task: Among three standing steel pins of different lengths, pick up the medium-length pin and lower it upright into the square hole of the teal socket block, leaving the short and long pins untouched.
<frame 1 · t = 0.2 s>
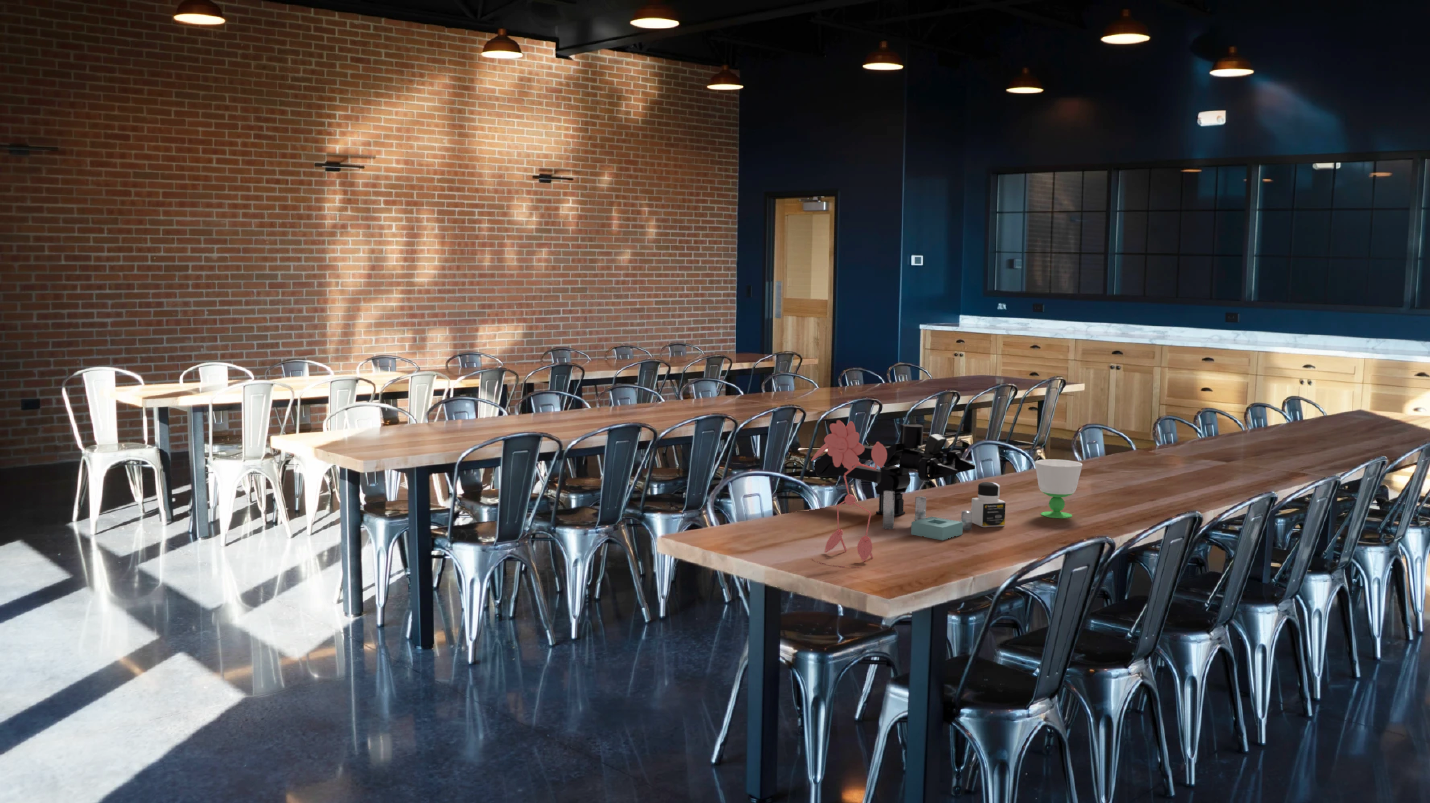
hand: (966, 469, 325), 16 cm above the table, tool horizontal, fingers open, 9 cm apart
pin short: (966, 528, 325), on the table
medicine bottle: (987, 524, 331), on the table
pin medium: (920, 525, 329), on the table
socket block: (936, 534, 317), on the table
cup: (1056, 515, 345), on the table
figurine: (840, 559, 289), on the table
pin long: (888, 528, 325), on the table
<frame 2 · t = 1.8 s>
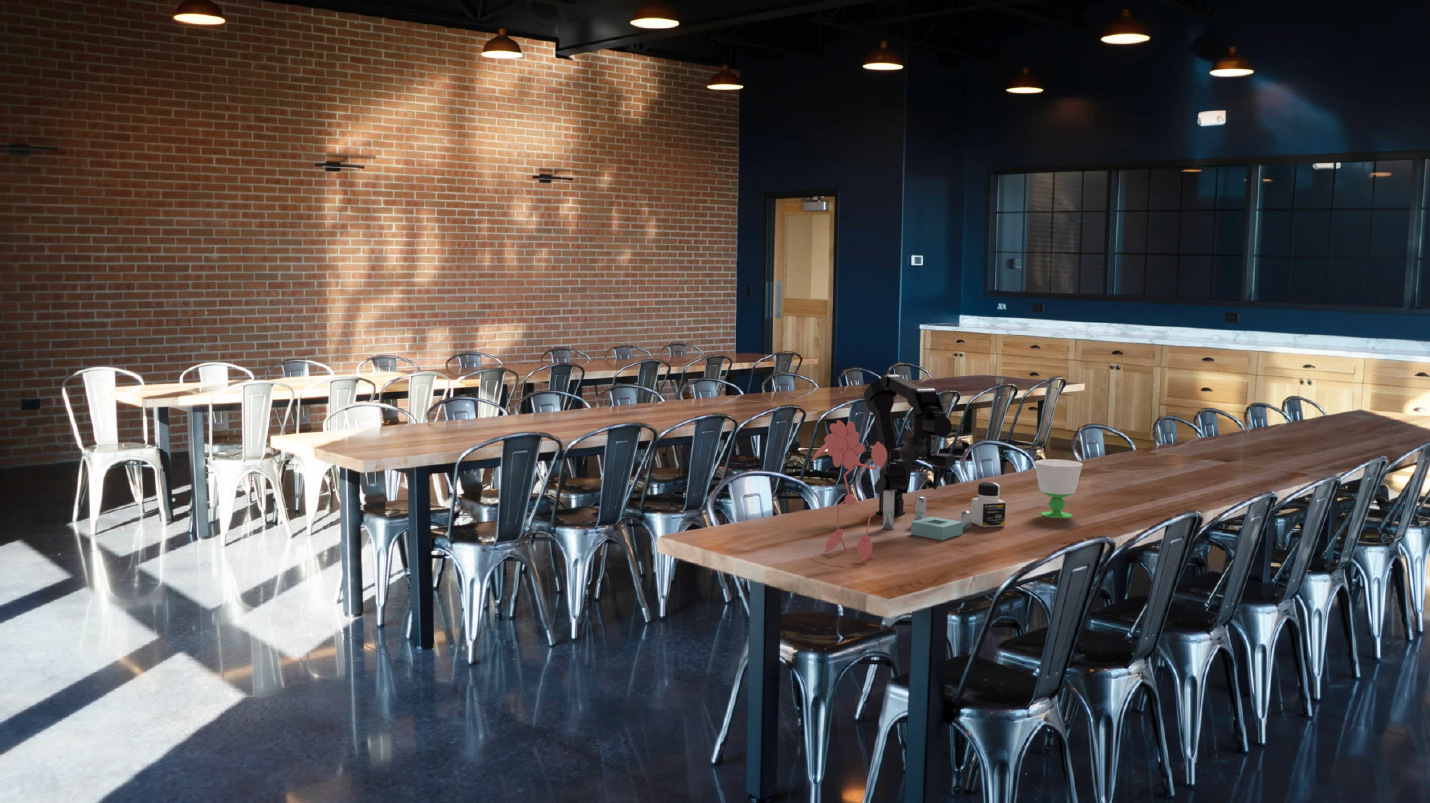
hand: (921, 486, 328), 11 cm above the table, tool pointing down, fingers open, 9 cm apart
nothing on the table moved.
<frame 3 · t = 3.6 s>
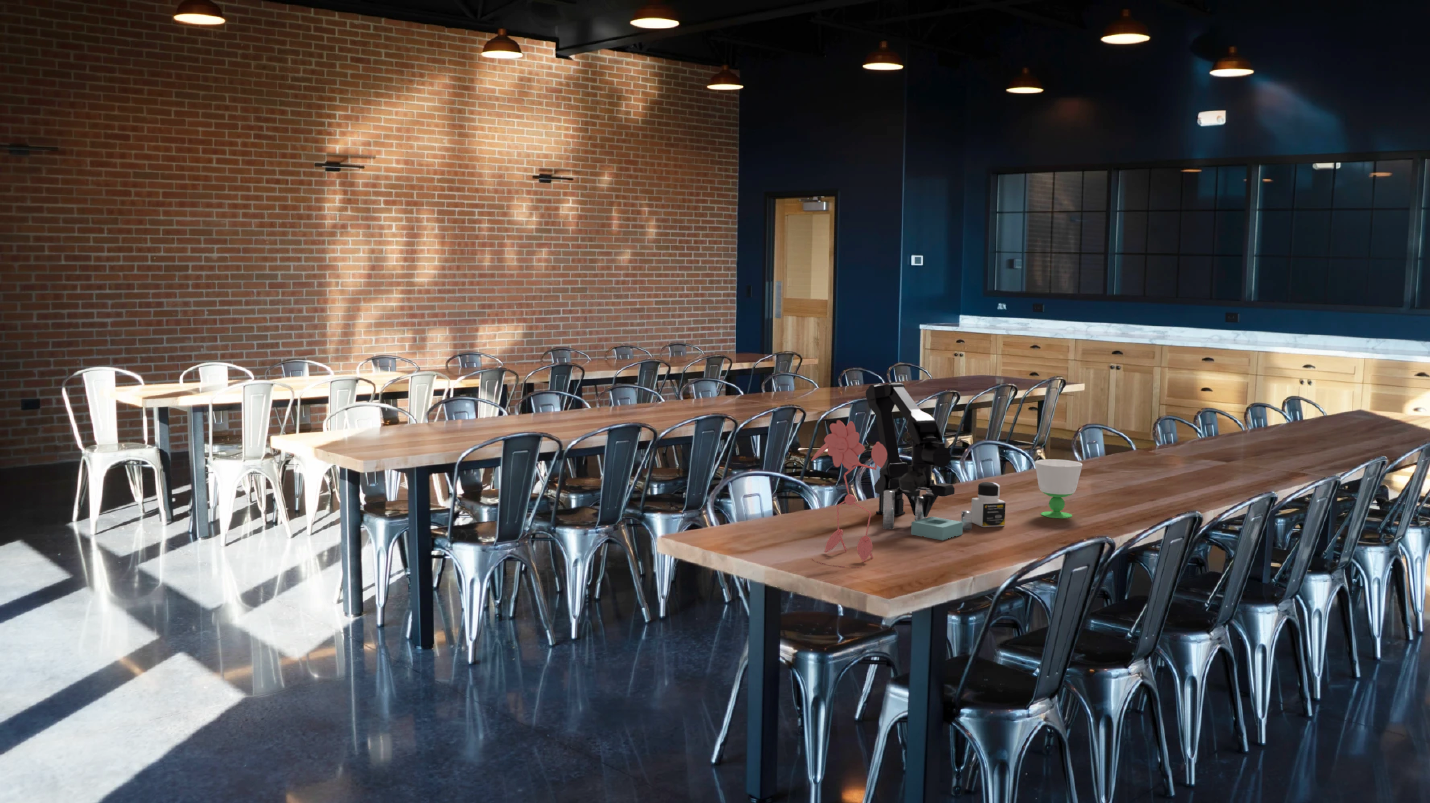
hand: (920, 516, 329), 3 cm above the table, tool pointing down, fingers closed on pin medium, 3 cm apart
pin medium: (920, 525, 329), on the table, touching gripper
everything else where it was.
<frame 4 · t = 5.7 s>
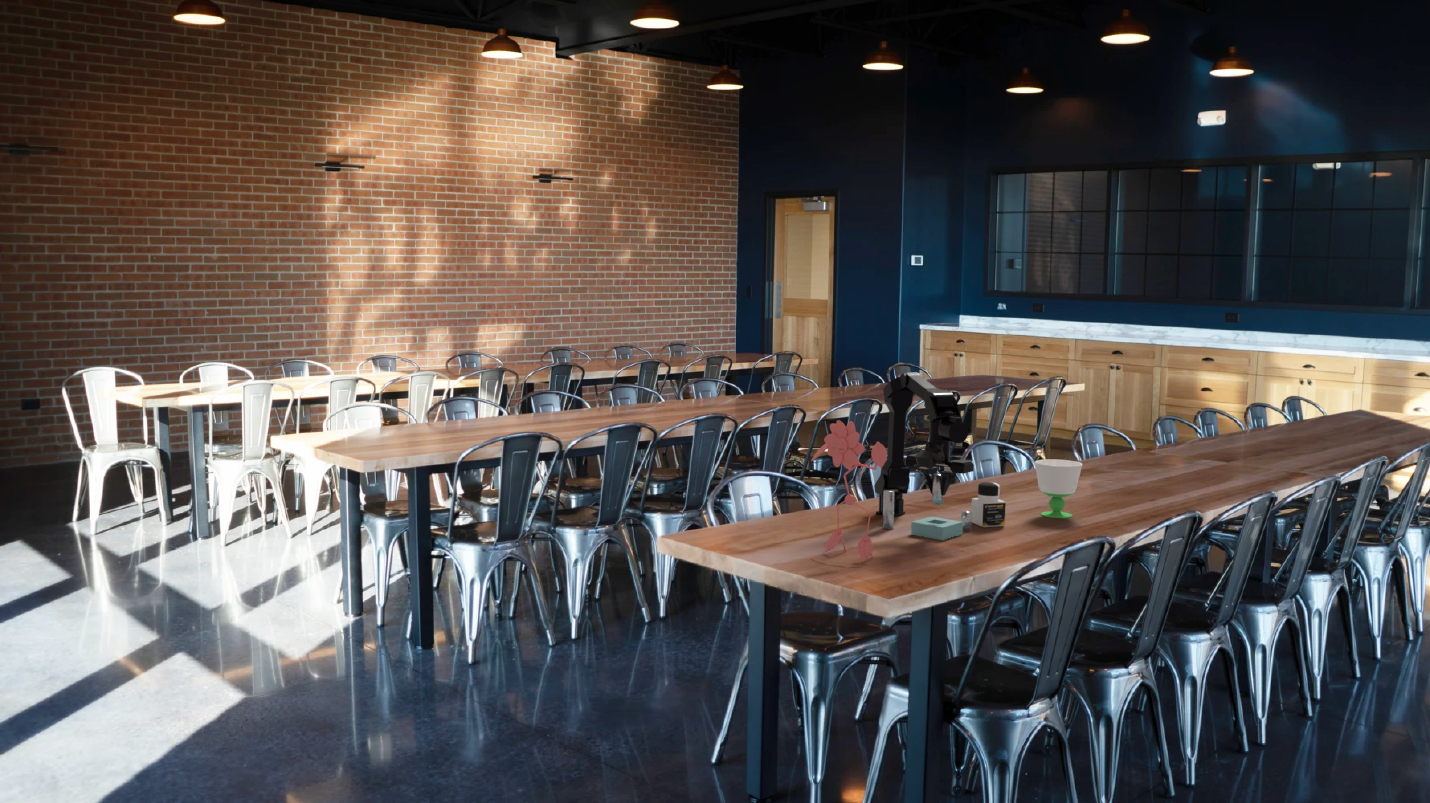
hand: (937, 494, 316), 11 cm above the table, tool pointing down, fingers closed on pin medium, 3 cm apart
pin medium: (937, 503, 316), point 9 cm above the table, touching gripper
everything else where it was.
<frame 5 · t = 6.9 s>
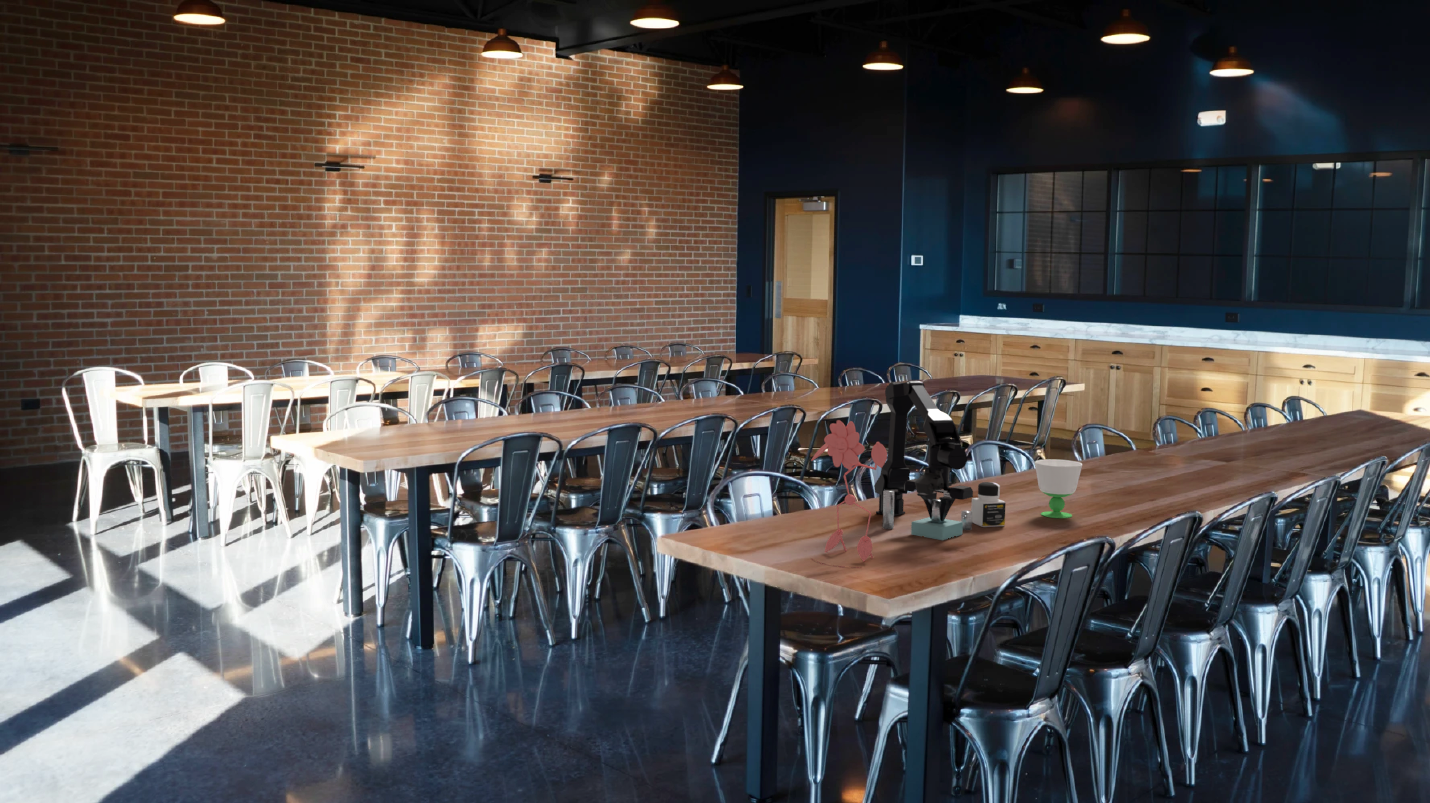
hand: (937, 519, 317), 4 cm above the table, tool pointing down, fingers closed on pin medium, 3 cm apart
pin medium: (936, 528, 317), point 2 cm above the table, touching gripper
everything else where it was.
when the fingers open (4 cm above the table, at t = 7.7 s): pin medium drops 2 cm, resting in socket block.
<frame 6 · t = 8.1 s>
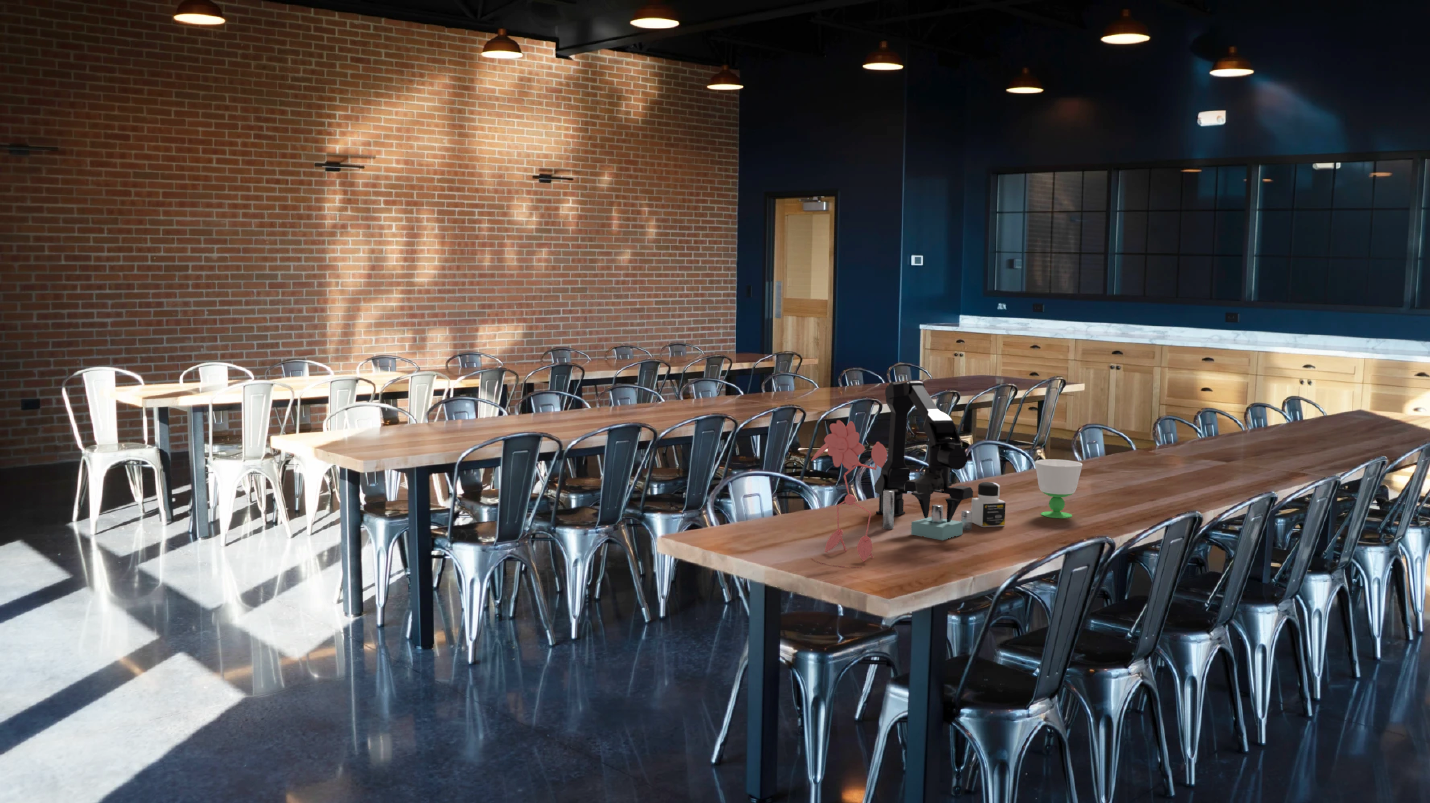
hand: (937, 520, 317), 4 cm above the table, tool pointing down, fingers open, 7 cm apart
pin medium: (936, 534, 317), resting in socket block
everything else where it was.
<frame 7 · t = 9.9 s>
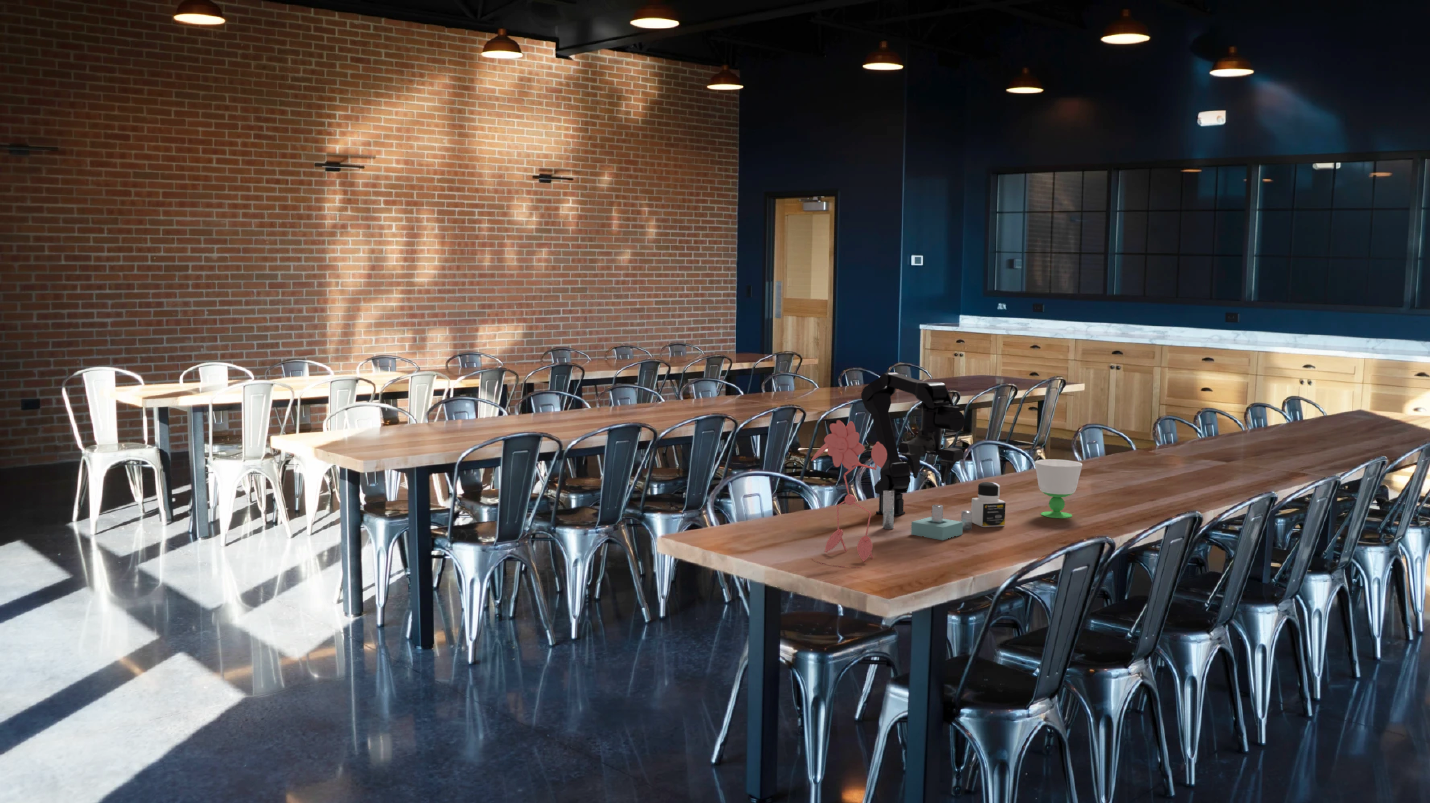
hand: (928, 480, 329), 13 cm above the table, tool pointing down, fingers open, 9 cm apart
nothing on the table moved.
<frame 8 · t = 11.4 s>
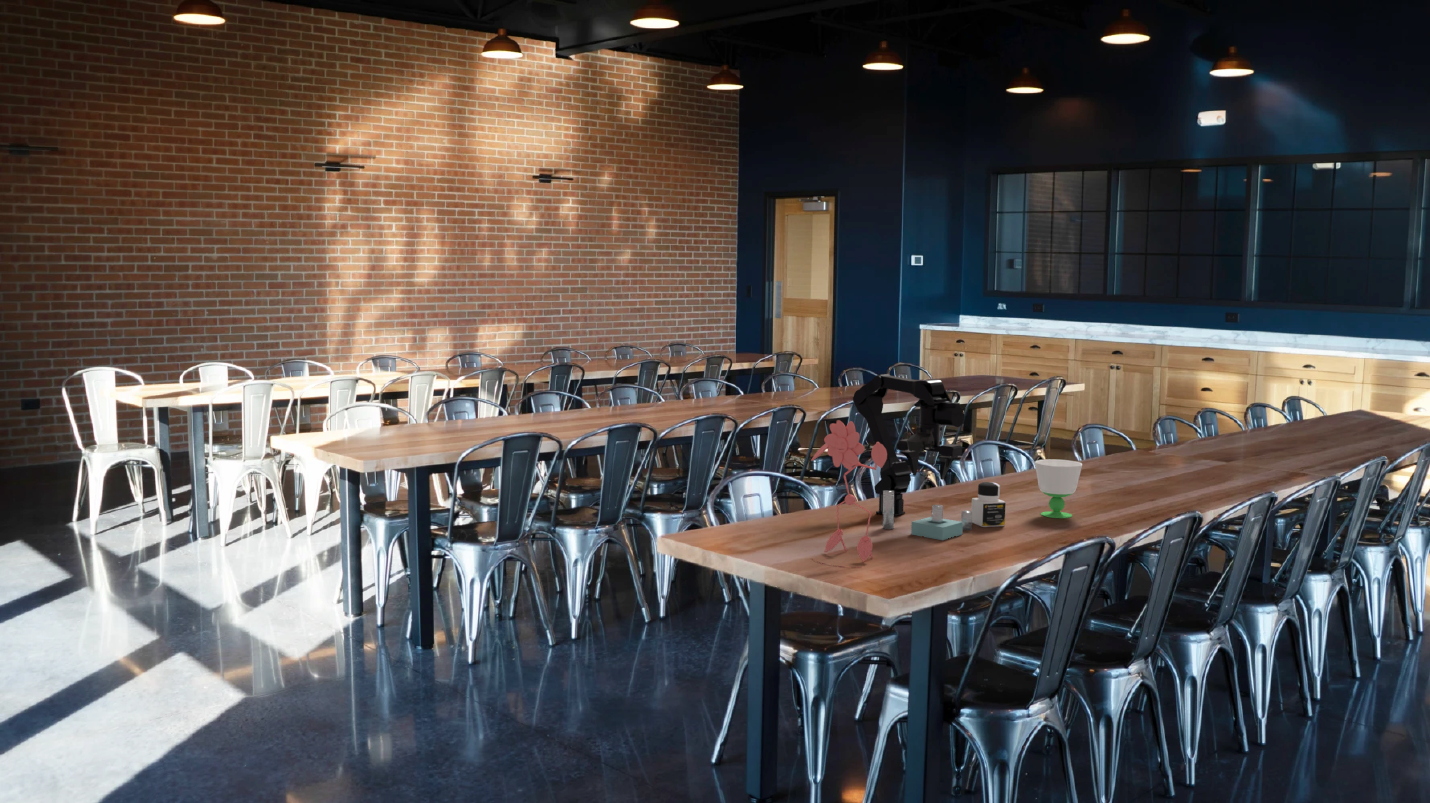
hand: (928, 477, 332), 13 cm above the table, tool pointing down, fingers open, 9 cm apart
nothing on the table moved.
at the end: pin medium 0.0 cm off-centre on the socket block, point 0.0 cm above the socket block's base; pin medium tilted 0°; the gripper is holding nothing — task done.
